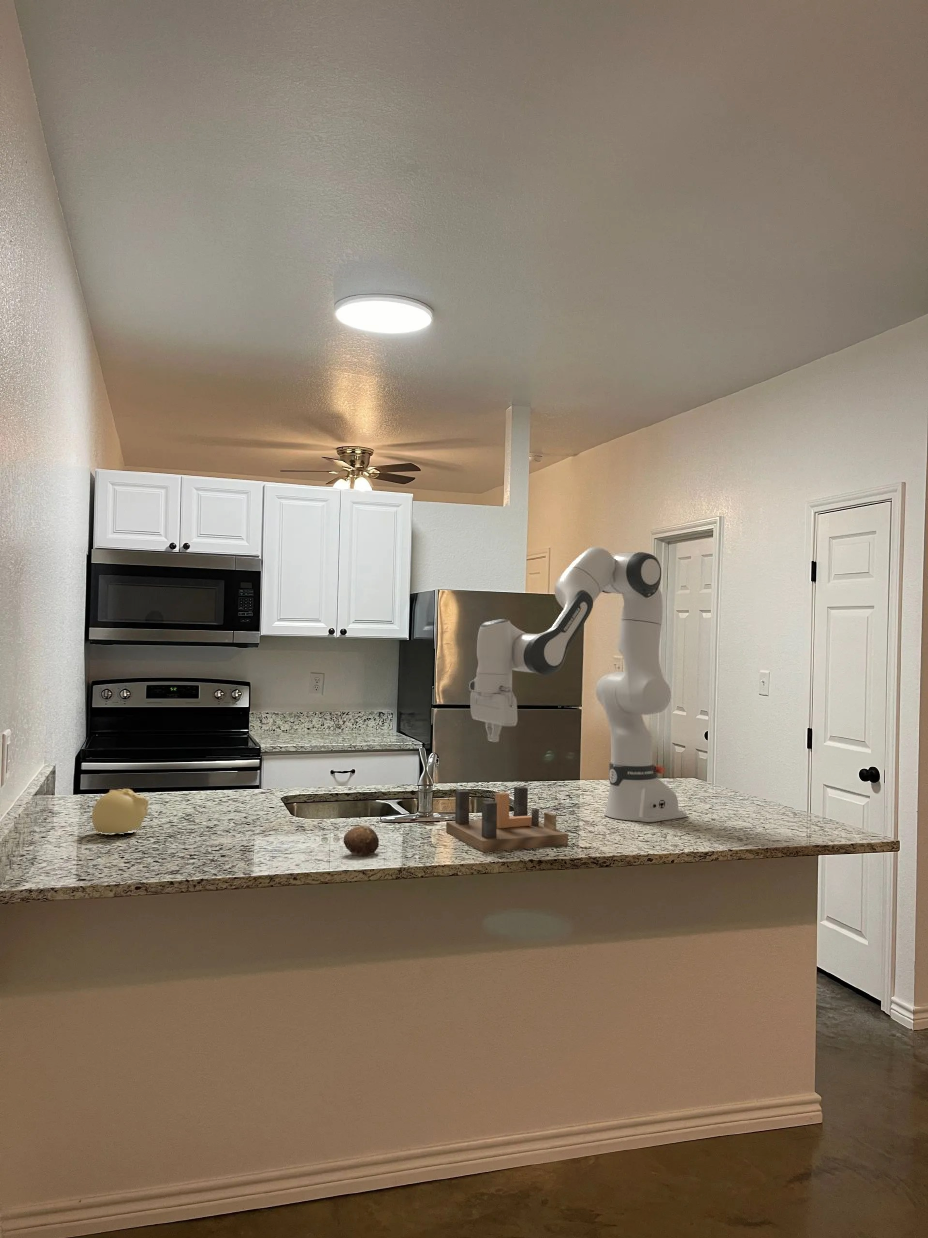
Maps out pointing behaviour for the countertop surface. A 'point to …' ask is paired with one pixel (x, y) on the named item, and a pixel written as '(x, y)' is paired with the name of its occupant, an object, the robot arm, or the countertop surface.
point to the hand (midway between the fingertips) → (493, 741)
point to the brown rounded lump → (361, 841)
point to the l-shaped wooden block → (503, 813)
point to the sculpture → (119, 811)
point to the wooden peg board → (495, 839)
